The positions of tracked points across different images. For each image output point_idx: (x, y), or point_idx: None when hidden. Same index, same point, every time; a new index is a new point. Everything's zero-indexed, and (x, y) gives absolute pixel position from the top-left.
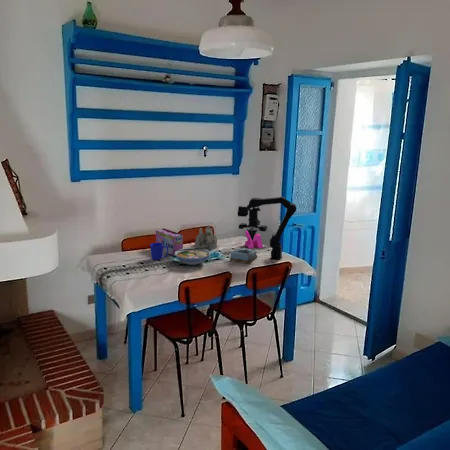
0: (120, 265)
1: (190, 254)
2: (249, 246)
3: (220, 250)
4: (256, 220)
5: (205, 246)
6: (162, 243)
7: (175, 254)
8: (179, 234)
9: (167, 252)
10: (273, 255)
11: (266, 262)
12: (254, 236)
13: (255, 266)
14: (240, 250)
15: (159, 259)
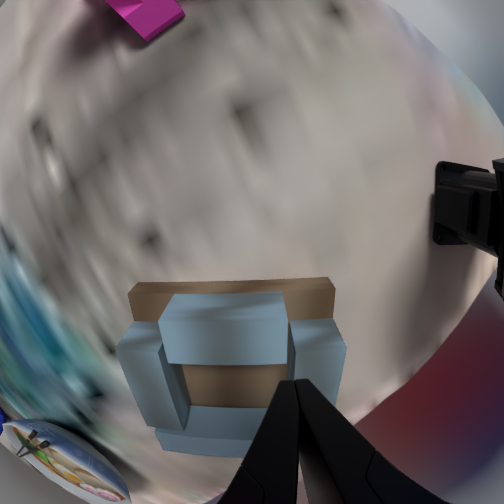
0: (12, 445)
1: (64, 472)
2: (139, 25)
3: (5, 226)
4: None
5: None
6: None
7: (51, 479)
8: None
9: (2, 430)
10: (464, 239)
11: (411, 334)
12: (346, 424)
13: (353, 417)
14: (163, 350)
15: (5, 416)
